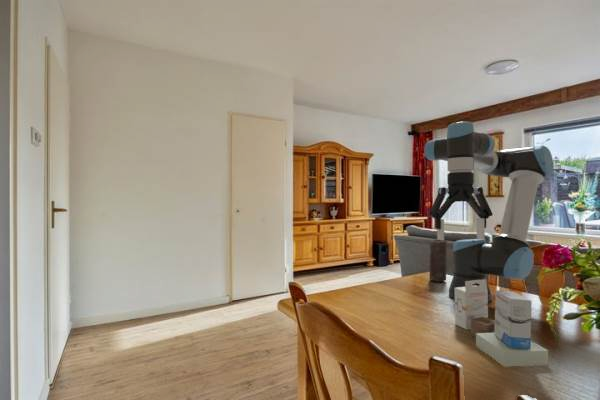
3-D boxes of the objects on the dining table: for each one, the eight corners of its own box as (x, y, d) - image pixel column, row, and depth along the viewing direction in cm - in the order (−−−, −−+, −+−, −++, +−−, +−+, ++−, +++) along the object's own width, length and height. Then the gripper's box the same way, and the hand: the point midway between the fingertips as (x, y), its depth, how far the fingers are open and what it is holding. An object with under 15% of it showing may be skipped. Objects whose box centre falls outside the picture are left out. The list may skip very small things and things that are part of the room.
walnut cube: (483, 333, 97) (483, 316, 97) (499, 340, 93) (499, 322, 93) (470, 336, 95) (470, 319, 95) (486, 343, 91) (486, 325, 91)
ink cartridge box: (475, 321, 107) (475, 275, 107) (488, 326, 102) (488, 279, 102) (453, 324, 104) (453, 277, 104) (465, 330, 100) (465, 281, 99)
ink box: (531, 349, 79) (532, 300, 79) (509, 348, 79) (510, 299, 79) (513, 335, 87) (514, 290, 87) (493, 334, 88) (494, 289, 88)
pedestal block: (514, 346, 90) (514, 331, 90) (548, 367, 79) (548, 350, 79) (476, 348, 89) (475, 333, 89) (504, 369, 78) (504, 352, 78)
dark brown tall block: (450, 282, 156) (449, 239, 156) (439, 284, 152) (439, 240, 152) (436, 278, 162) (435, 238, 162) (426, 280, 159) (425, 239, 158)
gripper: (488, 173, 110) (488, 236, 110) (417, 173, 107) (417, 238, 107) (505, 171, 102) (505, 239, 103) (429, 171, 99) (429, 241, 99)
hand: (460, 239), depth 105 cm, fingers open, 13 cm apart
